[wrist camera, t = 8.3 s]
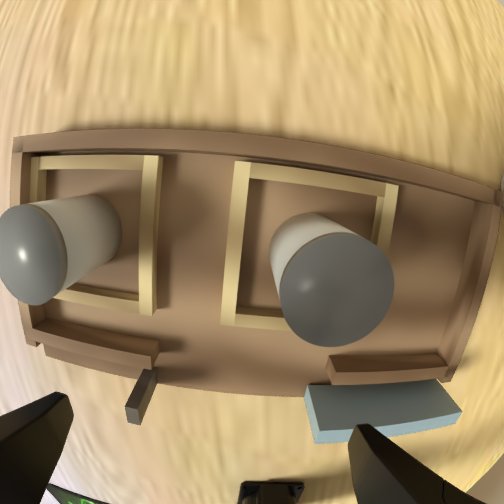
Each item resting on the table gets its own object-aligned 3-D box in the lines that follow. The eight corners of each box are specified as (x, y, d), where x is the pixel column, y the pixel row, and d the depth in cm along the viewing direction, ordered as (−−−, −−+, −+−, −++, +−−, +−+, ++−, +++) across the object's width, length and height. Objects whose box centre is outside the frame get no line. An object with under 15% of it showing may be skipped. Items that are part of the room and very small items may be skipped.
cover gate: (426, 399, 20) (449, 433, 16) (301, 407, 20) (310, 453, 15) (435, 378, 19) (462, 411, 15) (307, 384, 19) (319, 430, 15)
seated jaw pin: (337, 291, 18) (378, 347, 11) (264, 285, 18) (272, 344, 11) (350, 218, 17) (405, 242, 10) (273, 208, 16) (289, 228, 10)
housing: (423, 381, 21) (452, 422, 16) (53, 348, 20) (17, 385, 15) (475, 188, 17) (528, 196, 12) (41, 140, 16) (-12, 135, 11)
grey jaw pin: (121, 269, 17) (65, 313, 11) (63, 261, 17) (-1, 296, 11) (123, 195, 16) (58, 206, 10) (63, 193, 16) (-9, 204, 10)
